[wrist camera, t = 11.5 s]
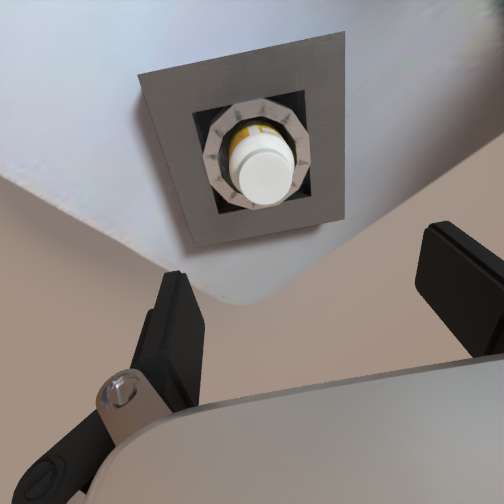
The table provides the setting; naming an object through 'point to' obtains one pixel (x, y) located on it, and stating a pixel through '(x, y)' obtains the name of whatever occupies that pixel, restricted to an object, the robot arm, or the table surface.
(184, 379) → the robot arm
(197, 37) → the table surface
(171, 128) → the bore block
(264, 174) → the supplement bottle
